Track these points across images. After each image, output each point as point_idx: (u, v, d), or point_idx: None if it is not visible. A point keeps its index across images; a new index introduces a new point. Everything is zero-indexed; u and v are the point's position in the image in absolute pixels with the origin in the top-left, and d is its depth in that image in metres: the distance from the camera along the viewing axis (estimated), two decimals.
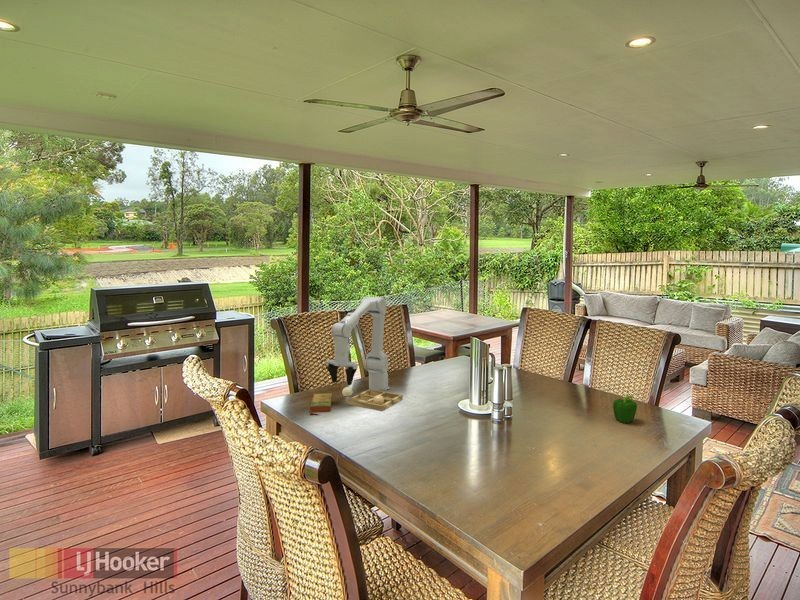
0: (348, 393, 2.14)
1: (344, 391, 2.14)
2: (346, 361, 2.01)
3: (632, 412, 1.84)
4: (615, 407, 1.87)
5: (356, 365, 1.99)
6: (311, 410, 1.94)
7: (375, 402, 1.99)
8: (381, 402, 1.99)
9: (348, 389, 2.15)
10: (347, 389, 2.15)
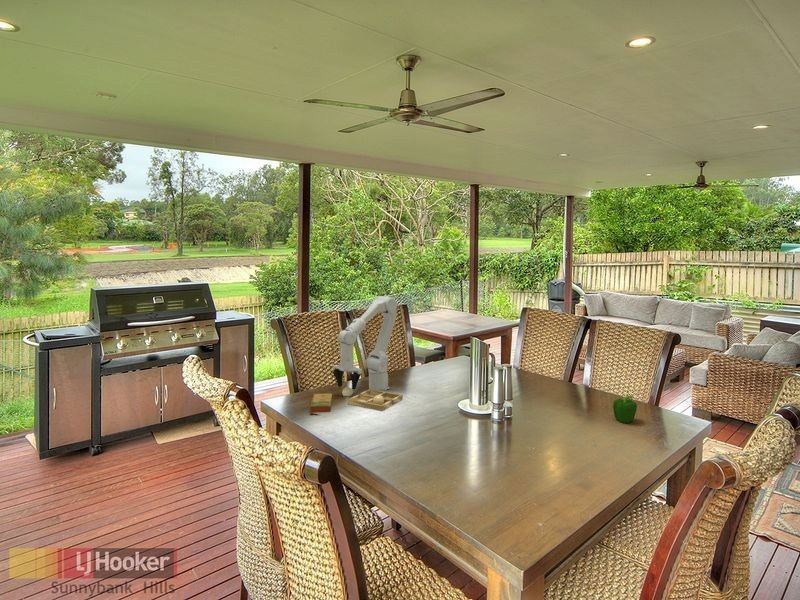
0: (348, 393, 2.14)
1: (344, 391, 2.14)
2: (351, 366, 2.13)
3: (632, 412, 1.84)
4: (615, 407, 1.87)
5: (360, 370, 2.12)
6: (311, 410, 1.94)
7: (375, 402, 1.99)
8: (381, 402, 1.99)
9: (348, 389, 2.15)
10: (347, 389, 2.15)
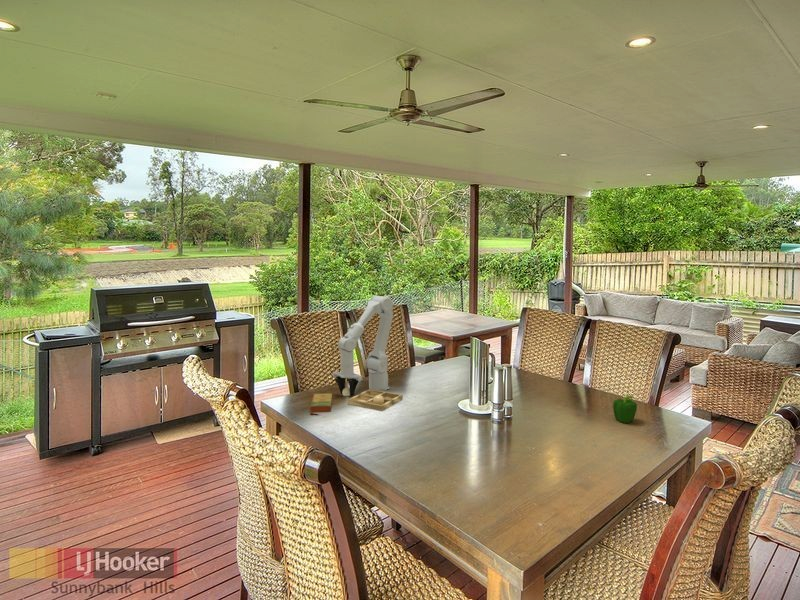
0: (348, 393, 2.14)
1: (344, 391, 2.14)
2: (351, 373, 2.13)
3: (632, 412, 1.84)
4: (615, 407, 1.87)
5: (361, 377, 2.12)
6: (311, 410, 1.94)
7: (375, 402, 1.99)
8: (381, 402, 1.99)
9: (348, 389, 2.15)
10: (347, 389, 2.15)
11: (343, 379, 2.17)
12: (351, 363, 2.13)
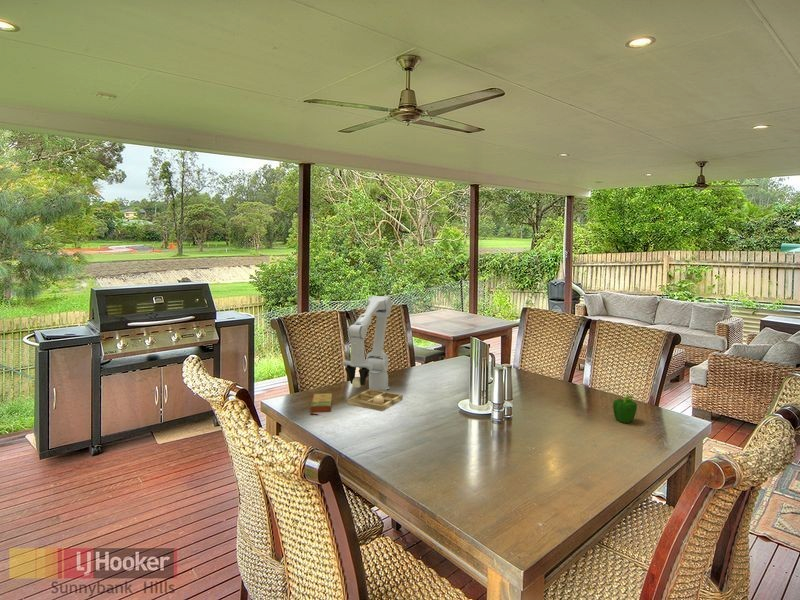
0: (358, 383, 2.05)
1: (354, 381, 2.06)
2: (362, 362, 2.05)
3: (632, 412, 1.84)
4: (615, 407, 1.87)
5: (372, 366, 2.03)
6: (311, 410, 1.94)
7: (375, 402, 1.99)
8: (381, 402, 1.99)
9: (358, 379, 2.06)
10: (357, 379, 2.06)
11: (353, 368, 2.08)
12: (363, 351, 2.05)
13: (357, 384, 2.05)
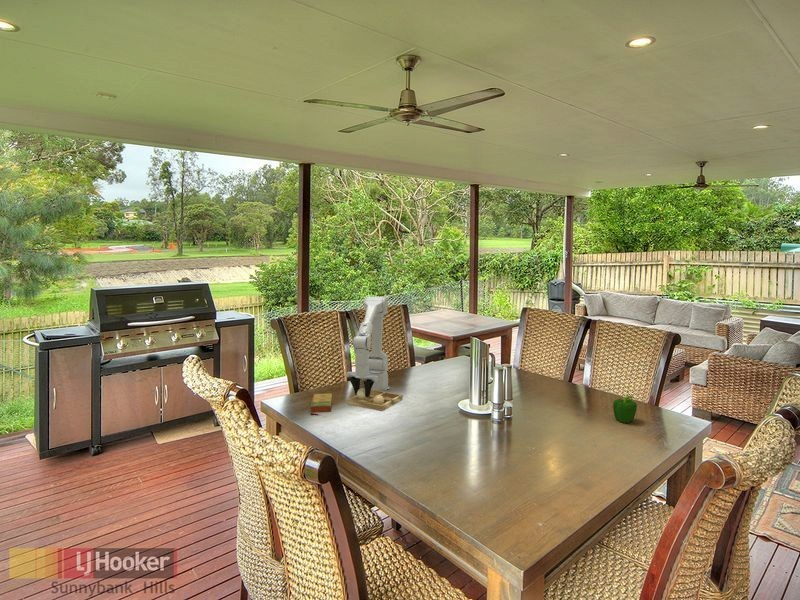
0: (363, 394, 2.03)
1: (359, 392, 2.03)
2: (367, 373, 2.02)
3: (632, 412, 1.84)
4: (615, 407, 1.87)
5: (377, 377, 2.01)
6: (311, 410, 1.94)
7: (375, 402, 1.99)
8: (381, 402, 1.99)
9: (363, 390, 2.03)
10: (362, 390, 2.03)
11: (358, 379, 2.06)
12: (368, 362, 2.03)
13: (362, 396, 2.03)
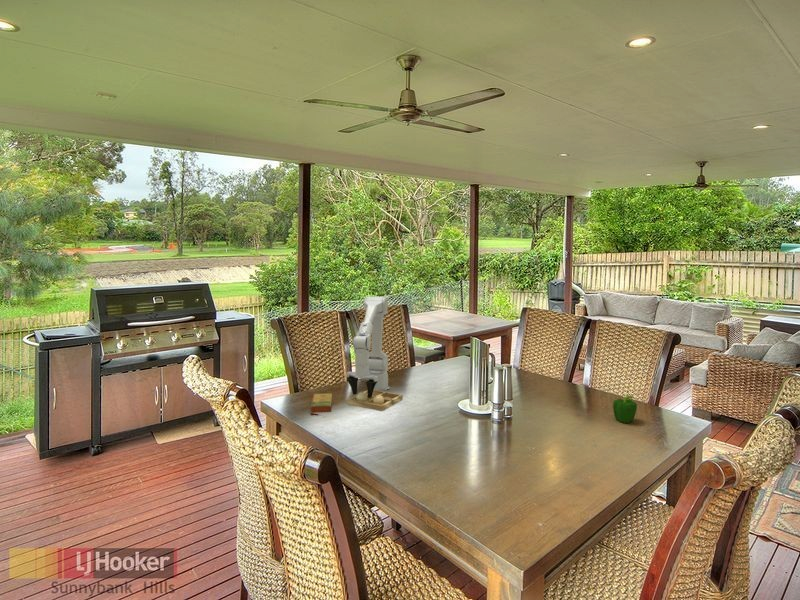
0: (363, 398, 2.03)
1: (358, 396, 2.03)
2: (367, 373, 2.02)
3: (632, 412, 1.84)
4: (615, 407, 1.87)
5: (377, 377, 2.01)
6: (312, 410, 1.94)
7: (375, 402, 1.99)
8: (381, 402, 1.99)
9: (362, 394, 2.04)
10: (361, 394, 2.04)
11: (355, 379, 2.06)
12: (368, 362, 2.03)
13: (362, 399, 2.03)
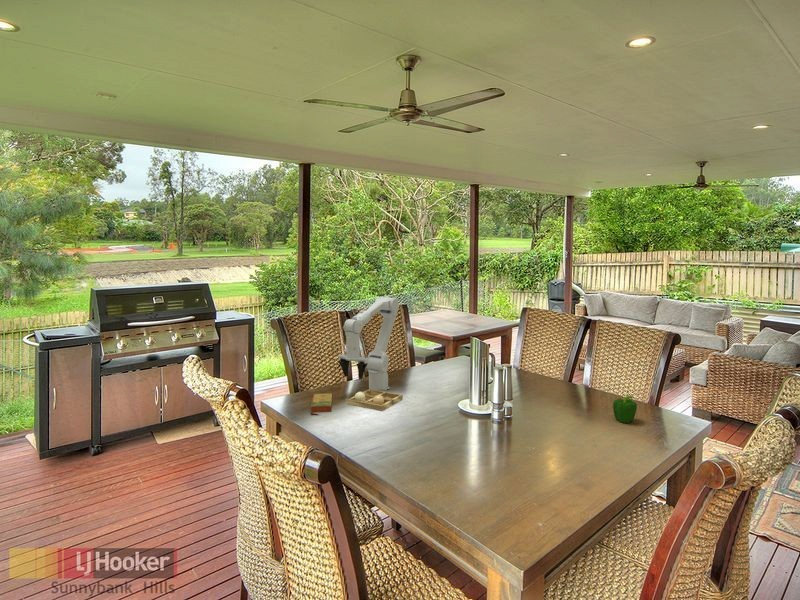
0: (360, 396, 2.03)
1: (356, 396, 2.04)
2: (357, 356, 2.10)
3: (632, 412, 1.84)
4: (615, 407, 1.87)
5: (367, 360, 2.08)
6: (312, 410, 1.94)
7: (375, 402, 1.99)
8: (381, 402, 1.99)
9: (359, 393, 2.04)
10: (358, 393, 2.04)
11: (347, 362, 2.14)
12: (358, 345, 2.10)
13: (360, 398, 2.03)
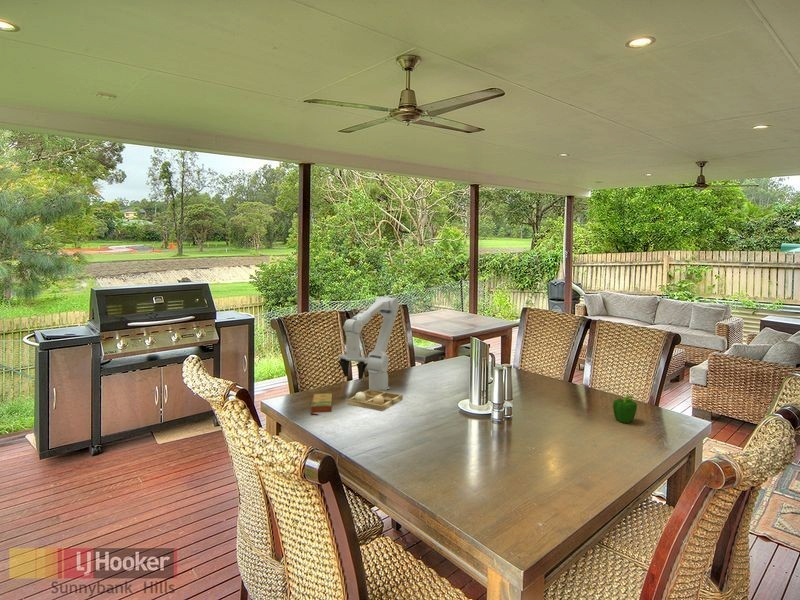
0: (361, 396, 2.03)
1: (356, 396, 2.04)
2: (357, 356, 2.10)
3: (632, 412, 1.84)
4: (615, 407, 1.87)
5: (367, 360, 2.08)
6: (312, 410, 1.94)
7: (375, 402, 1.99)
8: (381, 402, 1.99)
9: (359, 393, 2.04)
10: (358, 393, 2.04)
11: (347, 362, 2.14)
12: (358, 345, 2.10)
13: (360, 398, 2.03)
